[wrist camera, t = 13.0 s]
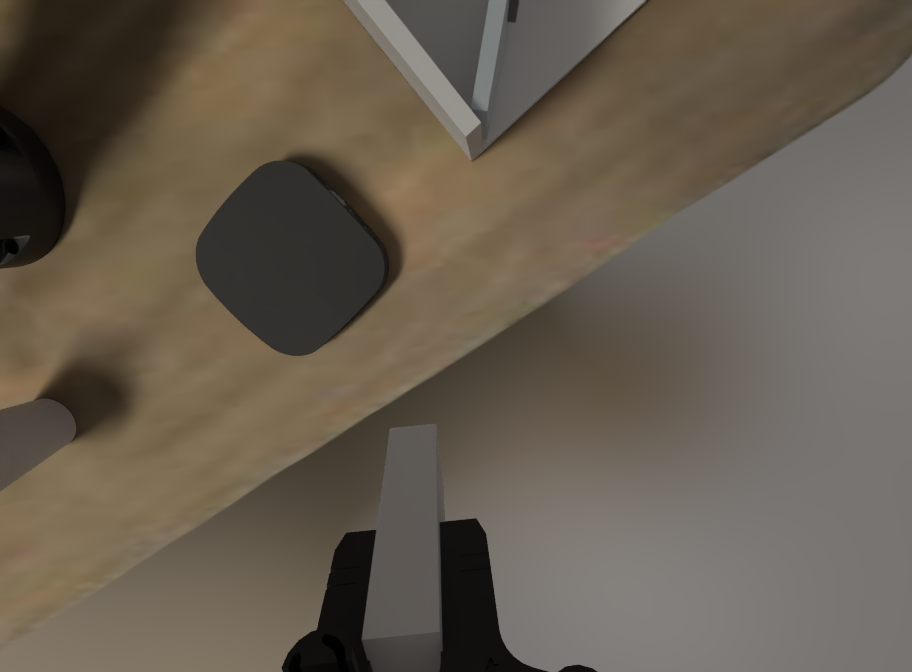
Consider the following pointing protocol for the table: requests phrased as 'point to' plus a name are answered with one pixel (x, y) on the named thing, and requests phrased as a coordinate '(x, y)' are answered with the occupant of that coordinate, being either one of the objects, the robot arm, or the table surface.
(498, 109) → the open box
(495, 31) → the side door
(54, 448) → the dixie cup
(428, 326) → the table surface
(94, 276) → the table surface
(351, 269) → the media streaming box
